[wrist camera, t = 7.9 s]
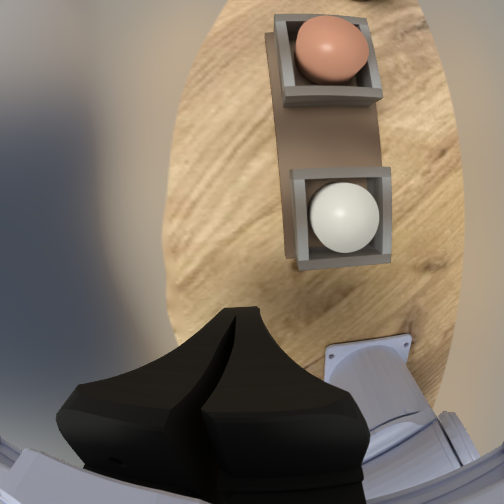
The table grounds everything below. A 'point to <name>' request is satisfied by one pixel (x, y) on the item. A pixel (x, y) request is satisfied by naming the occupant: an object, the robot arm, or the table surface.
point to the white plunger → (343, 216)
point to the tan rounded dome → (330, 50)
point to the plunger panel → (326, 145)
